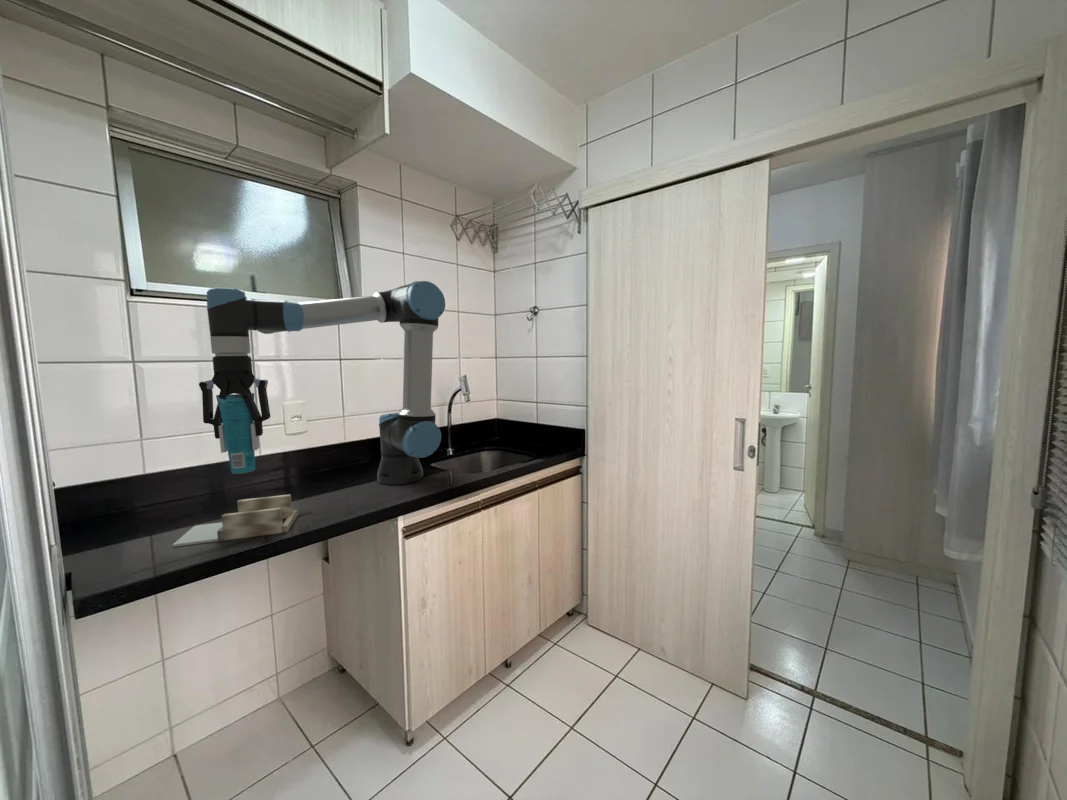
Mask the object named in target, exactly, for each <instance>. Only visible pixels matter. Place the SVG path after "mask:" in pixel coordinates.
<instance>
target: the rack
mask: <svg viewBox="0 0 1067 800" xmlns="http://www.w3.org/2000/svg"><path fill="white" fill-rule="evenodd" d="M236 504H237V512H229V513H224V514H223V513H222V515H221V522H222V525H223V526H222V527H221V528H220V529H219V530H218V531H217V535H218V541H217V542H222V541H223V542H224V541H231V540H237V539H245V538H253V537H258V536H268V535H277V534H282V533H288V532H289V531H290V529H291V527H292V525H293V524H294V522H295V520H296V519H297V517H298V516H299V515H298V513H299V512H298V509H293V503H292V494H291V493H290V494H281V495H280V494H279V495H271V496H262V497H255V498H254V497H252V498H245V499H244V498H243V499H238V500H237V501H236ZM283 519H285V521H283Z"/></svg>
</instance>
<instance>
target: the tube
mask: <svg viewBox="0 0 1067 800" xmlns="http://www.w3.org/2000/svg"><path fill="white" fill-rule="evenodd" d="M215 396H216V398H215V399H216V402H217V404H218V405H219V409H220V413H221V418H222V424H223V428H224V433H225V439H226V444H227V450H228V451H227V456H228V461H229V466H230V473H231V474H232V475H233V474H234V475H235V474H237V475H239V474H246V473H251V472H254V471H256V457H255V450H253V446H252V435H251V425H250V424H252V423H253V422H254V421H253V419H252V416H251V414H250V412H249V410H248V408H247V406H246V403H245V401H244V399H243V398H242V396H241V394H235V393H234V394H230V395H227V396H226V398H225V400H224V399H222V398H219V394H216V395H215ZM251 397H252V399H253V401H254V402H255V393H254V392H251Z"/></svg>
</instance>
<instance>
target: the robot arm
mask: <svg viewBox="0 0 1067 800" xmlns="http://www.w3.org/2000/svg"><path fill="white" fill-rule="evenodd" d="M247 297H248V296H246V292H245V291H244V290H242V289H239V288H232V287H231V288H230V287H212V288H209V289H208V290H207V291H206V310H207V311H206V312H207V318H208V327H209V335H210V349H211V353H212V355H213V354H214V356H213V357H212V367H213V376H212V378H211V379H209V380H203V381H200V382H199V383H198V386H199V388H200V390H201V392H202V393H201V396H202V398H201V399H202V421H203V423H204V424H209V425H211V426H213V431H214V438H215V439H216V440H217V439H218V440H219V447H220V454H223V453H227V452H228V450H227V444H226V439H225V433H224V428H223V423H222V418H221V413H220V409H219V405H218V403H217V405H216V408H215V412H214V395H213V394H214V393H213V389H214V388H215V387H214V385H215V386H216V387H217V388H218V390H220V391H219V394H218V395H219V398H222V399H224V400H225V398H226V396H227V395H232V394H241V396H242V398H243V399H244V401H245V403H246V406H247V408H248V410H249V412H250V414H251V416H252V419H253V423H252V424H250V425H251V435H252V446H253V450H254V451H257V450H259V449H260V448H261V447H260V445H261V444H260V437H261V436H262V435H263V434H264V429H263V422H265V421H267V420H269V419H271V413H270V405H269V399H268V392H267V388H268V384H269V381H268V379H261V378H256V376H255V375H254V373H253V364H252V357H251V356H250V355H248V354H250V353H251V343H250V341H251V340H250V334H249V333H250V332H249V331H257V332H259V333H261V334H265V335H269V334H274V333H283V332H288V333H291V332H300V331H302V330H304V329H313V328H314V329H315V328H323V327H331V326H337V325H339V326H341V325H346V324H353V323H354V324H356V323H357V324H358V323H363V322H364V323H365V322H370V321H371V322H372V321H377V322H379V323H381V324H382V323H394V322H395V323H398V322H399V326H400V327H401V328H402V330H403V331H404V339H403V341H404V342H403V381H402V383H403V385H402V389H403V390H402V408H401V409H400V410H399V411H398V412H391V413H389V412H388V413H383V414H381V415H380V416H379V417H378V418H379V420H378V421H379V422H378V427H379V440H380V456H381V459H380V462H379V466H378V468H377V473H376V479H377V482H378V483H379V484H382V485H388V486H389V485H391V486H392V485H393V486H394V485H395V486H396V485H407V484H410V483H413V482H417V481H420V480H421V479H422V478H423V477H424V470H423V467H422V464H421V462H420V459H421V458H422V459H424V458H426V457H430V455H432V454H434V453H435V451H437V449H438V448H439V446H440V444H441V442H442V441H441V440H442V431H441V430H440V427H439V426H438V425H437V424H436V415H437V414H436V413H435V411H434V410H433V409H432V385H433V383H432V381H433V352H434V351H433V347H434V332H435V331H437V330H438V329H439V319H440V318H441V316H442V315H443V314H444V312H445V310H446V309H445V308H446V300H445V296H444V293H443V291H442V290H441V289H440V288H439V287H438V286H437V285H436V284H434V283H433V282H431V281H427V280H420V281H419V280H415V281H413V282H411V283H407V284H405V285H402V286H398V287H395V288H393V289H390V290H385V291H379V292H378V291H377V292H376V291H375V292H374V293H373V295H369V296H358V297H347V298H336V299H335V298H334V299H325V300H324V299H323V300H309V301H301V302H297V301H289V300H272V299H271V300H269V299H268V300H267V299H253V298H247ZM253 384H255V387H256V388H257V394H258V399H259V406H260V411H259V409H258V406H257V403H256V402H255V400H254V401H253V399H252V397H251V393H252V391H251V389H250V388H251V387H252V386H253Z"/></svg>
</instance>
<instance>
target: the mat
mask: <svg viewBox="0 0 1067 800" xmlns="http://www.w3.org/2000/svg"><path fill="white" fill-rule="evenodd" d="M222 526H223V525H222V521H220V522H213V523H206V524H205V523H204V524H199V525H194V526H192V528H190V529H189V530H188V531H186V532H185V533H184V534H183V535H182V536H180V537H179V538H178V539H177V540H176V541H175V542H174V543H173V544H172V547H173V548H175V547H176V548H177V547H183V546H191V545H198V544H207V543H214V542H215V543H216V542H219V541H218V535H217V531H218V530H219V529H220V528H221V527H222Z"/></svg>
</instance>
